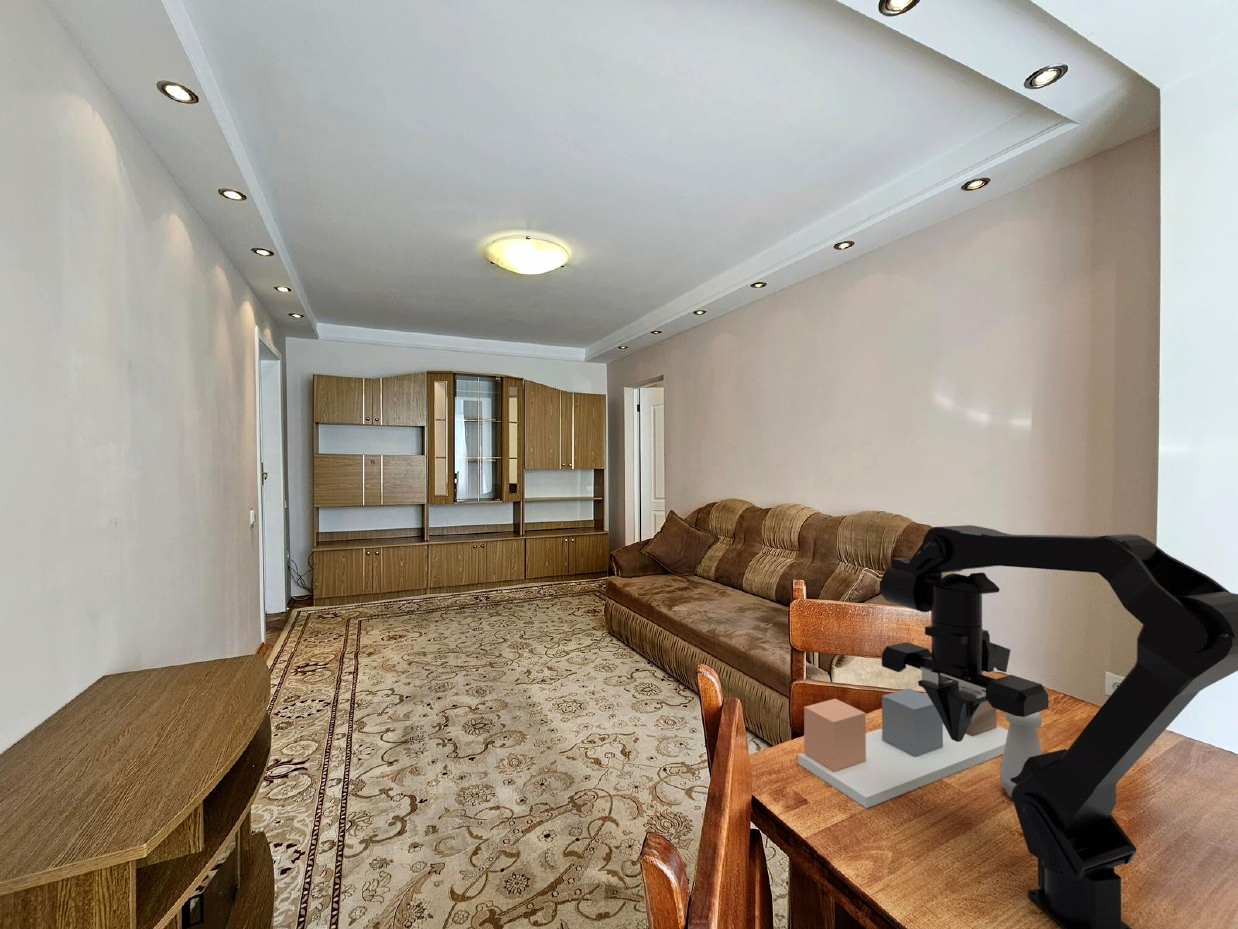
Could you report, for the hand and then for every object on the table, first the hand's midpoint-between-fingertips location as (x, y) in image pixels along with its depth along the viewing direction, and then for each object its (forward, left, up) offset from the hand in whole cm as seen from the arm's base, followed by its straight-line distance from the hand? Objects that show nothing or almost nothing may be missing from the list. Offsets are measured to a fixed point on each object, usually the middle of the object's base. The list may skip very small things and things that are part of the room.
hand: (956, 740), depth 72 cm
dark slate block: (+19, -7, -10) cm, 23 cm away
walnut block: (+24, -21, -10) cm, 34 cm away
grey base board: (+19, -7, -12) cm, 23 cm away
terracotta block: (+17, +8, -10) cm, 21 cm away
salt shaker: (+6, -15, -12) cm, 20 cm away
